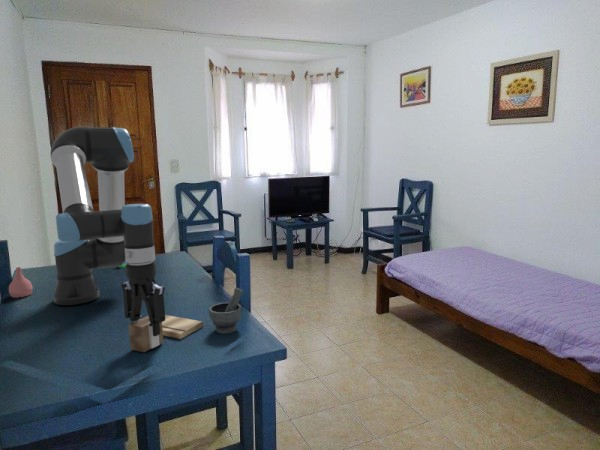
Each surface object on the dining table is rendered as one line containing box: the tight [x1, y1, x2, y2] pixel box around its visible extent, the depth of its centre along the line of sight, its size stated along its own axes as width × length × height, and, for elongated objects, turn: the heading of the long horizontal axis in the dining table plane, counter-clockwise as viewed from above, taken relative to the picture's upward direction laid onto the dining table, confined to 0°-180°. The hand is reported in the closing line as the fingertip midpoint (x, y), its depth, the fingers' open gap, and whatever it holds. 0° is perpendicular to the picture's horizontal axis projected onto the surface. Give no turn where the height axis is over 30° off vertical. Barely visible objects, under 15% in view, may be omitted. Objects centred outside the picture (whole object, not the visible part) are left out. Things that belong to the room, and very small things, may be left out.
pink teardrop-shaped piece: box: [8, 266, 33, 299], centre depth 161 cm, size 8×8×12 cm
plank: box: [162, 314, 204, 340], centre depth 129 cm, size 18×10×2 cm, turn 64°
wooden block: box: [128, 315, 164, 353], centre depth 115 cm, size 5×7×8 cm
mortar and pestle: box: [208, 287, 244, 335], centre depth 127 cm, size 11×9×12 cm
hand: (147, 344), depth 116 cm, fingers closed on wooden block, 5 cm apart
